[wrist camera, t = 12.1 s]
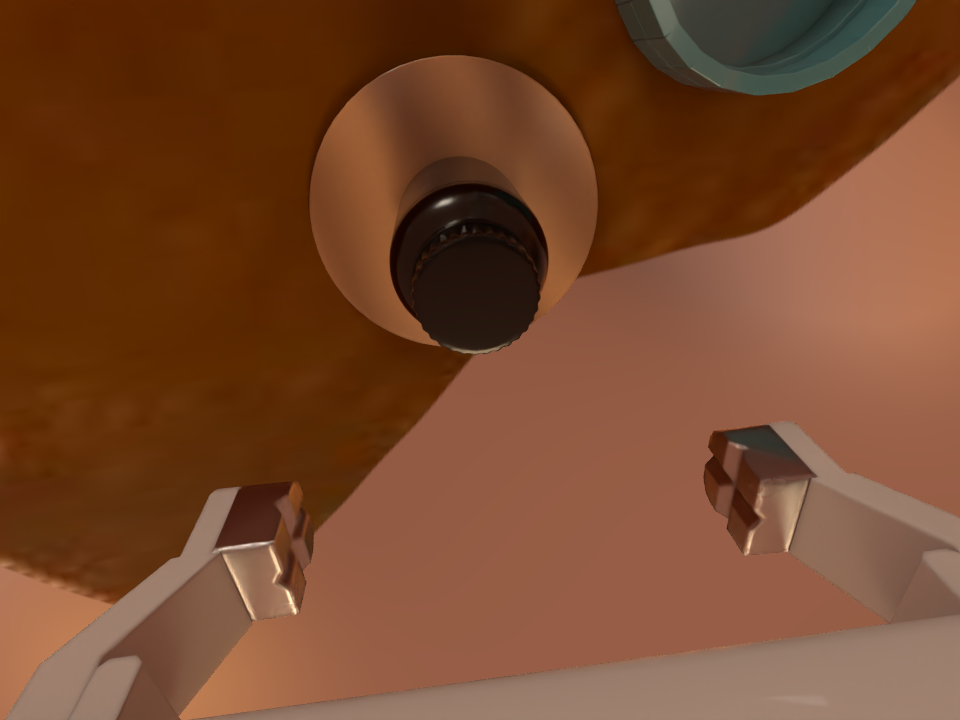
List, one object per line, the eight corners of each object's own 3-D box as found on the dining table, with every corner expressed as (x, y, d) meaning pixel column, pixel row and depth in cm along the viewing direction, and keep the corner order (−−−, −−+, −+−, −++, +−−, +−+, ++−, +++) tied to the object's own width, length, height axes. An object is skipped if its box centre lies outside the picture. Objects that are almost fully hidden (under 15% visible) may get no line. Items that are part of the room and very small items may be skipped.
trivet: (496, -21, 26) (497, -23, 25) (641, 247, 33) (645, 250, 32) (246, 182, 29) (243, 184, 28) (428, 386, 36) (428, 391, 35)
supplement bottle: (542, 189, 30) (608, 259, 19) (484, 294, 32) (514, 405, 22) (429, 127, 28) (434, 168, 17) (376, 244, 30) (354, 341, 20)
